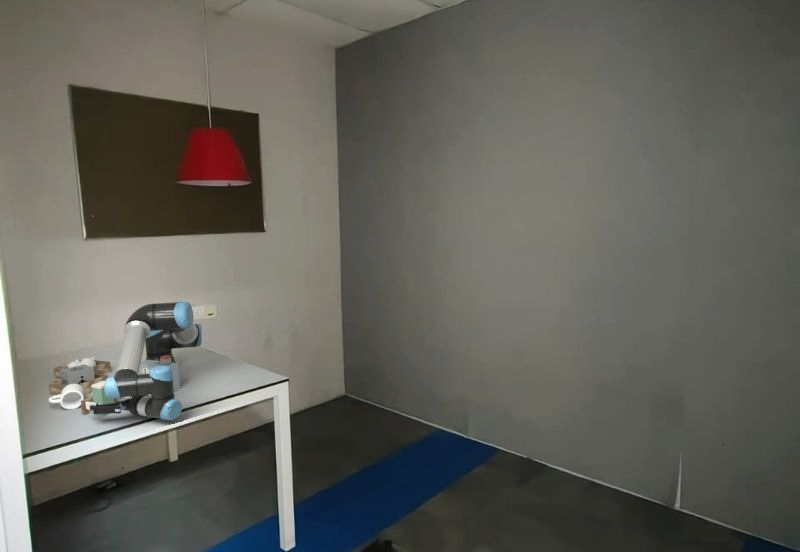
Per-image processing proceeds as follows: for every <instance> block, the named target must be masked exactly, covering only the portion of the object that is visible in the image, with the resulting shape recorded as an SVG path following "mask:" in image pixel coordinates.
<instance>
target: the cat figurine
mask: <svg viewBox="0 0 800 552" xmlns="http://www.w3.org/2000/svg"><path fill="white" fill-rule="evenodd" d="M80 360H81V362H79V359H75V361H74V360H73V361H71V362H69V363H70V364H69V363H67V367H68V368H71V367H75V366H80V365H84V364H85V365H87V366H90V367H94V366H96V362H95V360H96V359H95V357H94V356H92V357H84V358H82V359H80Z"/></svg>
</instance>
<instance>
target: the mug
mask: <svg viewBox="0 0 800 552" xmlns="http://www.w3.org/2000/svg"><path fill="white" fill-rule="evenodd" d="M82 400H85V395H84V389H83V387H82V386H80V385H78V384H70V385H67V386H66V387H64V388H63V390H62V392H61V394H60V395H53V396H50V397H49V398H48V403H50V404H59V405H60V406H61V407H62V408H63V409H64V410H69V411H71V410H70V409H72V410H77V409H78V408H79V407H81V401H82Z"/></svg>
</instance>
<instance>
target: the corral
mask: <svg viewBox="0 0 800 552" xmlns="http://www.w3.org/2000/svg"><path fill="white" fill-rule="evenodd" d="M81 360H82V359H80V360H79V359H78V361H79V362H81ZM94 360H95V362H96V366H94V367H92V368H94V376H95V379H94V380H91V381H88V382H85V383H82V384H79V385H80V386H82V387H83V389H84V396H85V395H87V394H90V393H92V387H91V385H93V384H96V383H99V382H101V381H106V379H107V378H109V375H108V373H110V372H112V368H111V367H112V365H111V361H107V360H106V361H103V360H97V359H94ZM70 363H71V362H69V363H67V364H70ZM67 364H63V365H58V366H56V367H53V368H52V369H53V377H54V379H57V380H54V381H53V380H52V381H51V382H48V388H49V389H48V390H49V394H50V395H54V394H55V395H54V396H56V395H60V394H61V392H62V390H63V388H64V387H66V386H67V385H66V384H61V377H60V370H62V369H66V368H68V367H67Z"/></svg>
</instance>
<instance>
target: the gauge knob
mask: <svg viewBox="0 0 800 552" xmlns="http://www.w3.org/2000/svg"><path fill="white" fill-rule="evenodd" d="M160 361H161V364H162V365H167V364H170V363H171V356H170V355H164V356H161V357H160Z"/></svg>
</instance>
